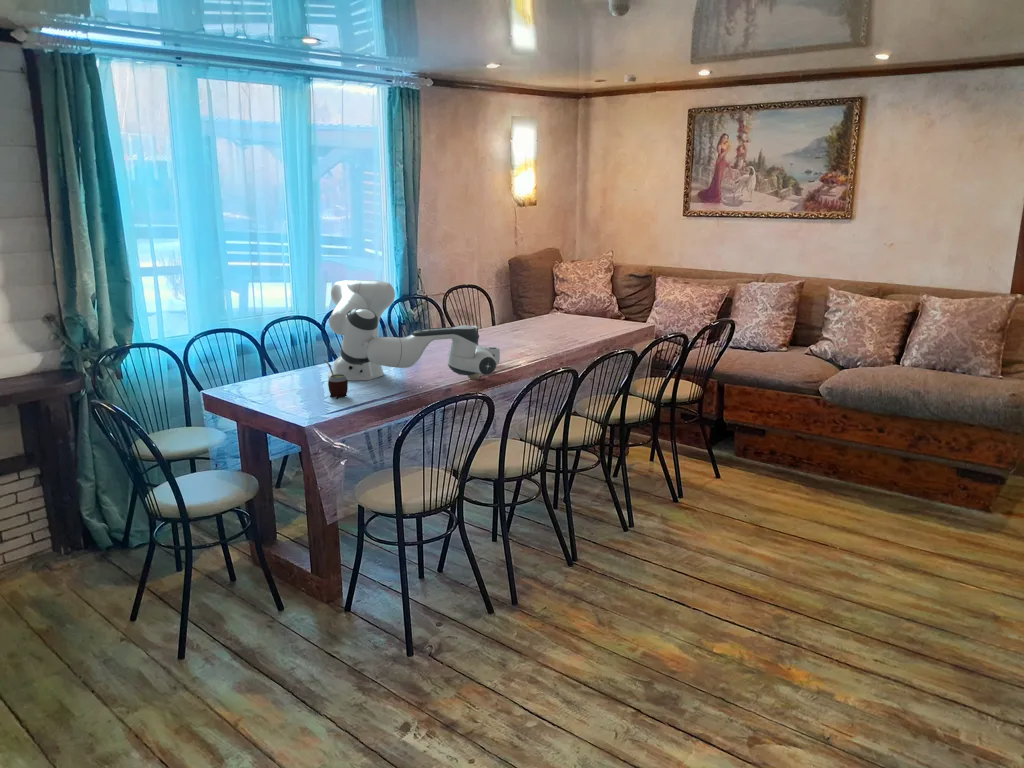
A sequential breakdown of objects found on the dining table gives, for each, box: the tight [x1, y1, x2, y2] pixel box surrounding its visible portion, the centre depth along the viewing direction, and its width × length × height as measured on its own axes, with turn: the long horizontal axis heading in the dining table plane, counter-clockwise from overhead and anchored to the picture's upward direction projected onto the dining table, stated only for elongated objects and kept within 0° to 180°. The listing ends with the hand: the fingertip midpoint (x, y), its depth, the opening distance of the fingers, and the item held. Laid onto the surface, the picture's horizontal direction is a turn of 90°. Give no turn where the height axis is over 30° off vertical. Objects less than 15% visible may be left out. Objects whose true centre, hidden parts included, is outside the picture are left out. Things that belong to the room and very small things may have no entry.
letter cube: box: [467, 373, 480, 380], centre depth 312 cm, size 4×4×4 cm
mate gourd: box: [323, 359, 349, 400], centre depth 282 cm, size 8×8×15 cm
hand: (471, 349), depth 316 cm, fingers open, 8 cm apart
